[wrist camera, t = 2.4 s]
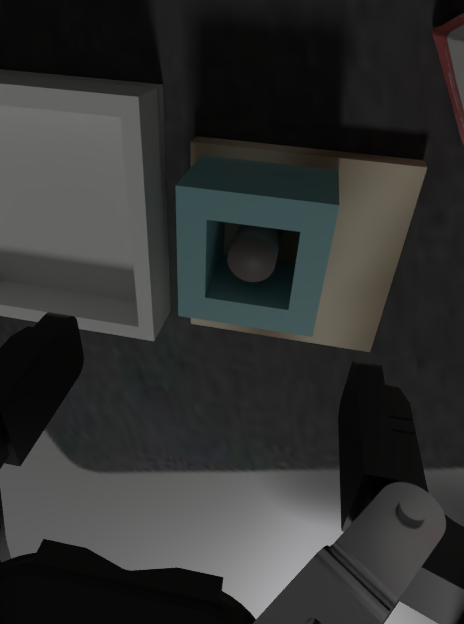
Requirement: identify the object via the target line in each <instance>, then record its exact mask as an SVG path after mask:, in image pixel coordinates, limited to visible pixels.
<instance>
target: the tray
mask: <svg viewBox="0 0 464 624" xmlns="http://www.w3.org/2000/svg"><path fill="white" fill-rule="evenodd" d="M170 310H171V303H170V273H169V244H168V215H167V186H166V157H165V128H164V99H163V84H152V83H141V82H131V81H120V80H109V79H98V78H88V77H77V76H66V75H55V74H45V73H34V72H23V71H12V70H1V69H0V316H5V317H11V318H17V319H23V320H29V321H35V322H39V320H40V319H41V318H42V317H43V316H44V315H45V314H46V313H48V312H51V313H58V314H64V315H70V316H74V317H76V319H77V322H78V327H79V329H84V330H90V331H96V332H102V333H108V334H114V335H120V336H126V337H132V338H138V339H144V340H150V341H155V339H156V337H157V335H158V333H159V331H160V329H161V327H162V325H163V323H164V322H165V320H166V318H167V316H168V314H169V312H170Z"/></svg>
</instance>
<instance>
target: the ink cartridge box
mask: <svg viewBox="0 0 464 624" xmlns="http://www.w3.org/2000/svg"><path fill="white" fill-rule="evenodd" d="M432 35H433V38H434V42H435V45H436V48H437V52H438V56H439V59H440V63H441V67H442V70H443V74H444V78H445V81H446V85H447V88H448V92H449V96H450V100H451V103H452V107H453V111H454V115H455V118H456V122H457V126H458V130H459V134H460V138H461V141H462V143H463V145H464V13H462V14H460V15H459V16H457V17H455V18H453V19H452V20H450V21H448V22H447V23H445V24H443V25H441V26H438V27H436V28H434V29H433V30H432Z"/></svg>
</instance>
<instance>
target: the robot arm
mask: <svg viewBox="0 0 464 624" xmlns="http://www.w3.org/2000/svg"><path fill="white" fill-rule="evenodd" d="M83 361H84V355H83V349H82V344H81V338H80V333H79V327H78V322H77V319H76V317H74V316H70V315H64V314H58V313H51V312H48V313H46V314H45V315H44V316H43V317H42V318H41V319H40V320H39V322H38V323H37V324H36V325H35V326H34V327H29V326H28V327H26V328H24V329H23V330H21V331H19V332H17V333H16V334H14V335H12V336H11V337H10V338H9V339H8V340H7V341H6V342H5V343H4V345H3V346H2V347H1V348H0V468H1V467H2V465H3V464H4V463H6V464H11V465H16V466H21V464H22V463H23V461H24V460H25V458H26V457H27V455H28V454H29V452H30V451H31V449H32V447H33V446H34V444H35V443H36V441H37V440H38V438H39V437H40V435H41V434H42V432H43V431H44V429H45V428H46V426H47V424H48V423H49V421H50V420H51V418H52V417H53V415H54V414H55V412H56V411H57V409H58V407H59V406H60V404H61V403H62V401H63V400H64V398H65V397H66V395H67V394H68V392H69V391H70V389H71V387H72V386H73V384H74V383H75V381H76V380H77V378H78V377H79V375H80V373H81V370H82V367H83ZM338 426H339V461H340V495H341V528H342V531H344V533H343V534H342V535H341V536H340V537H339V538H338V540H337V541H336V542H335V543H334V544H333V545H331V546H330V547H329V546H325V547H323V548H322V549H321V550H320V551H319V552H318V553H317V554H316V555H315V556H314V557H313V558H312V559H311V560H310V561H309V563H308V564H307V565H306V566H305V567H304V568H303V569H302V570H301V571H300V572H299V573H298V575H297V576H296V577H295V578H294V579H293V580H292V581H291V582H290V583H289V584H288V585H287V587H286V588H285V589H284V590H283V591H282V592H281V593H280V594H279V595H278V596H277V598H276V599H275V600H274V601H273V602H272V603H271V604H270V605H269V606H268V607H267V608H266V610H265V611H264V612H263V613H262V614H261V615H260V616H259V617H258V618H257V619H255V618H254V617H253V615H252V614H251V613H250V612H249V611H248V610H247V609H246V608H245V607H244V606H243V605H242V604H241V603H239V602H238V601H237V600H235V599H234V598H233V597H231V596H230V595H228V594H226V593H224V592H223V591H222V583H223V577H219V576H214V575H209V574H205V573H200V572H195V571H190V570H186V569H181V568H166V569H150V570H135V571H128V570H125V569H122V568H121V567H119V566H117V565H115V564H113V563H112V562H110V561H108V560H106V559H105V558H103V557H101V556H99V555H98V554H96V553H94V552H92V551H90V550H88V549H87V548H83V547H79V546H74V545H69V544H64V543H60V542H55V541H51V540H46V539H43V541H42V543H41V545H40V547H39V549H38V551H37V553H32V554H26V555H22V556H18V557H15V558H12V559H11V556H10V553H9V549H8V545H7V541H6V535H5V527H4V517H3V509H2V500H1V492H0V624H384V622H385V621H386V620H387V618H388V617H389V615H390V614H391V612H392V611H393V610H394V608H395V607H396V605H397V604H398V602H399V601H400V602H402V603H404V604H406V605H407V606H409V607H411V608H413V609H414V610H416V611H418V612H419V613H421V614H423V615H425V616H426V617H428V618H430V619H432V620H433V621H435V622H437V623H439V624H464V527H463V526H461V525H459V524H458V523H456V522H454V521H453V520H451V519H450V518H449V517H447V516H446V515H445V514H444V512H443V510H442V508H441V507H440V505H439V504H438V502H437V501H436V500H435V499H434V498H433V497H432V496H431V495H430V494H429V492H428V489H427V485H426V480H425V475H424V470H423V465H422V460H421V456H420V451H419V446H418V441H417V436H415V435H416V431H415V426H414V423H413V417H412V412H411V407H410V403H409V401H408V400H407V398H406V397H405V396H404V394H403V393H402V391H401V390H400V388H399V387H393V386H387V385H385V382H384V376H383V370H382V366H381V365H376V364H369V363H363V362H357V361H353V362H352V364H351V367H350V371H349V374H348V378H347V381H346V384H345V388H344V391H343V394H342V398H341V402H340V407H339V417H338Z"/></svg>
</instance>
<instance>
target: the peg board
mask: <svg viewBox="0 0 464 624" xmlns="http://www.w3.org/2000/svg"><path fill="white" fill-rule="evenodd" d="M201 155H208V156H217V157H226V158H235V159H244V160H253V161H262V162H271V163H280V164H289V165H298V166H307V167H316V168H325V169H334V170H339V210H338V215H337V219H336V224H335V229H334V234H333V239H332V244H331V249H330V254H329V259H328V264H327V268H326V273H325V278H324V283H323V288H322V293H321V298H320V303H319V308H318V312H317V317H316V322H315V327H314V332H313V337H310V336H303V335H297V334H291V333H284V332H278V331H272V330H265V329H259V328H253V327H246V326H240V325H234V324H227V323H221V322H215V321H208V320H202V319H195V318H191V324H197V325H203V326H209V327H216V328H222V329H228V330H235V331H241V332H247V333H253V334H260V335H266V336H272V337H279V338H285V339H291V340H297V341H304V342H310V343H316V344H323V345H329V346H335V347H341V348H348V349H354V350H360V351H367V352H370V351H371V347H372V344H373V341H374V338H375V334H376V331H377V328H378V325H379V322H380V318H381V315H382V312H383V309H384V305H385V302H386V299H387V296H388V293H389V289H390V286H391V283H392V280H393V276H394V273H395V270H396V267H397V264H398V260H399V257H400V254H401V251H402V247H403V244H404V241H405V238H406V235H407V231H408V228H409V225H410V222H411V218H412V215H413V212H414V209H415V205H416V202H417V199H418V196H419V193H420V189H421V186H422V183H423V180H424V176H425V173H426V170H427V166H426V164H425V162H424V161H423V160H416V159H406V158H397V157H387V156H378V155H369V154H359V153H350V152H340V151H331V150H322V149H312V148H303V147H293V146H284V145H275V144H265V143H256V142H246V141H237V140H228V139H218V138H209V137H199V136H196V137H195V138H194V139H193V140H192V141H191V167H192V166H193V164H194V163H195V162H196V161H197V160H198V158H199V157H200V156H201ZM299 237H300V232H298V231H290V230H282V229H274V228H267V227H259V226H251V225H244V224H236V223H228V222H225V237H224V255H228V257H227V261H228V265H229V268H230V270H231V271H232V272H233V274H234V275H235V276H237V277H238V278H240V279H242V280H244V281H248V282H259V281H262V280H265V279H266V278H268V277H269V276H270V275H271V274H272V273H273V271H274V268H275V265H276V262H282V263H289V264H295V263H296V256H297V250H298V243H299Z"/></svg>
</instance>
